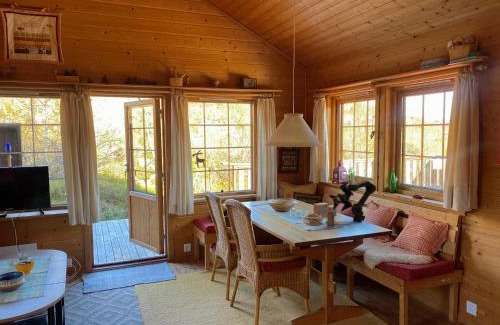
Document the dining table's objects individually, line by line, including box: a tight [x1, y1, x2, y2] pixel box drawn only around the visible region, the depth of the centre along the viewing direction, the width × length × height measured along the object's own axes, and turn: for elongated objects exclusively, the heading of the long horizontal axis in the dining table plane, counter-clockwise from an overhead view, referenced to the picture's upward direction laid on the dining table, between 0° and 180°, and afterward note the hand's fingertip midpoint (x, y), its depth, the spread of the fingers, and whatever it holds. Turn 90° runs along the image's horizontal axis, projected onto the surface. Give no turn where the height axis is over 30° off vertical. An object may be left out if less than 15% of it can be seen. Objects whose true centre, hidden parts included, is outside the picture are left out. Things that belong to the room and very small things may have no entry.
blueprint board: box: [325, 219, 350, 226], centre depth 328 cm, size 18×11×2 cm, turn 91°
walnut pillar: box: [326, 211, 335, 228], centre depth 318 cm, size 4×4×12 cm
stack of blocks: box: [313, 202, 338, 218], centre depth 356 cm, size 21×6×12 cm, turn 111°
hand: (337, 210), depth 321 cm, fingers open, 9 cm apart
